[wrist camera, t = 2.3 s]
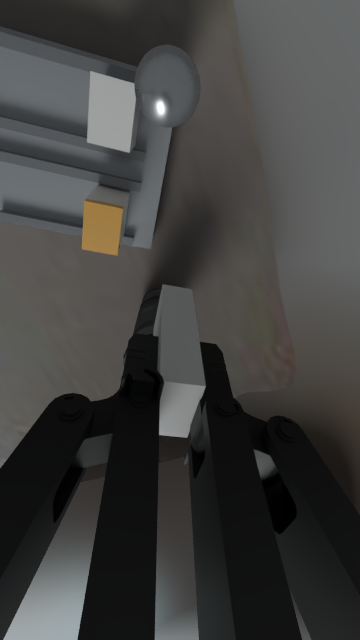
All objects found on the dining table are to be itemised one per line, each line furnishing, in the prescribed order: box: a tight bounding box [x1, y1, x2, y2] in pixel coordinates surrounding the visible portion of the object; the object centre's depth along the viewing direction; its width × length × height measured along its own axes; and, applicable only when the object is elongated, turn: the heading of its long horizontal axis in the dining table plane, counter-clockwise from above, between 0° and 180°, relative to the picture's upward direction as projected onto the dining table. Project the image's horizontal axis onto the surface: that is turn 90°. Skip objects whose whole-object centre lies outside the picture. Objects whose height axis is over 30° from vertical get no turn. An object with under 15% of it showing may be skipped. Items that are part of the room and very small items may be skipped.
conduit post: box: [134, 45, 200, 128], centre depth 18 cm, size 2×2×18 cm
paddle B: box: [87, 71, 140, 153], centre depth 23 cm, size 3×4×7 cm
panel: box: [0, 26, 172, 249], centre depth 28 cm, size 20×15×4 cm
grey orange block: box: [82, 184, 130, 256], centre depth 27 cm, size 3×4×7 cm
